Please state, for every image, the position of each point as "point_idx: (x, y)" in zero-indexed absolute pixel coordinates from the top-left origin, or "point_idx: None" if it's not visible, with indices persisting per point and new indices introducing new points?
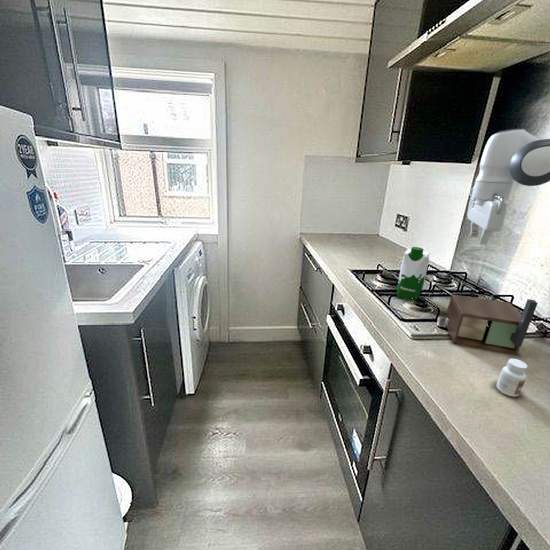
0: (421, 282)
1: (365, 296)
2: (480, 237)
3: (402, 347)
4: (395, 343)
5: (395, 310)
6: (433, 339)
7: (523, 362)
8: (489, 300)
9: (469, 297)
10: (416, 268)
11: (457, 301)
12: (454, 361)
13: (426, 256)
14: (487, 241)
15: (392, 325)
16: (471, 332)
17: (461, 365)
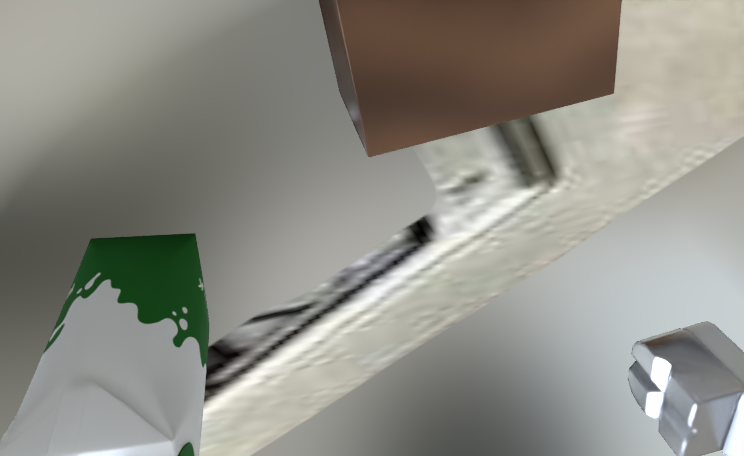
0: (170, 298)
1: (289, 383)
2: (709, 452)
3: (617, 193)
4: (600, 215)
5: (350, 274)
6: (528, 116)
7: None
8: None
9: (362, 62)
10: (197, 394)
11: (467, 122)
12: (658, 34)
13: (155, 446)
14: (736, 349)
15: (483, 251)
16: None
17: (677, 9)
